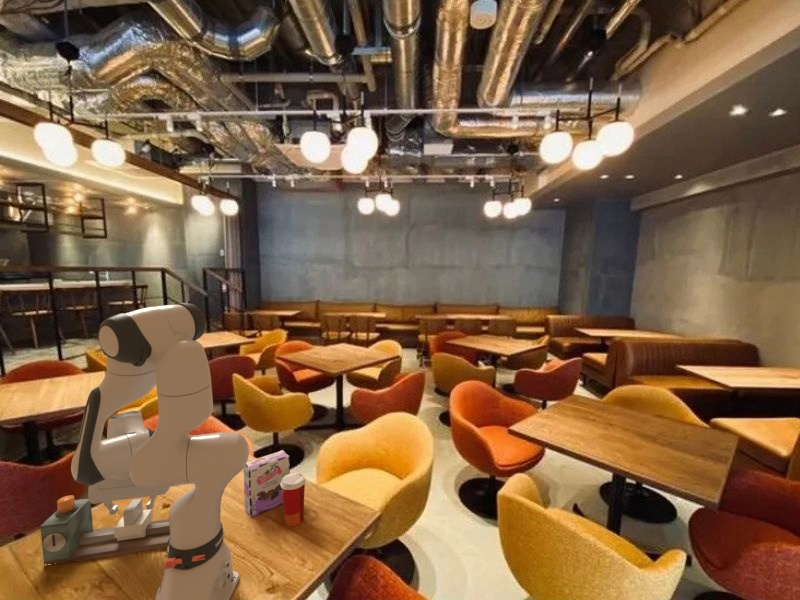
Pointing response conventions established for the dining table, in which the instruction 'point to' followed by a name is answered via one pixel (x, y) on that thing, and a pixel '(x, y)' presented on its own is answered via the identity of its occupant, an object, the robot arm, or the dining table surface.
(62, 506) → the button
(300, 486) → the paper cup
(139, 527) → the carriage
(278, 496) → the candy box
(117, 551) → the rail base
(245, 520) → the dining table surface
